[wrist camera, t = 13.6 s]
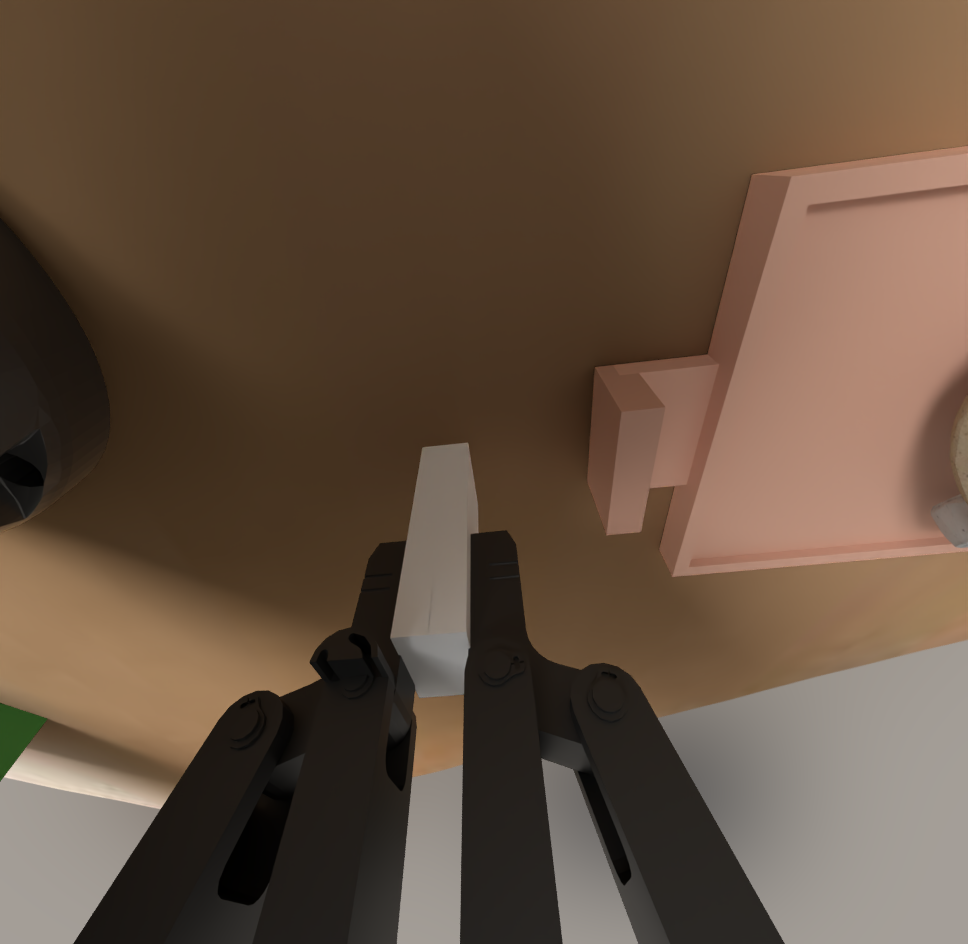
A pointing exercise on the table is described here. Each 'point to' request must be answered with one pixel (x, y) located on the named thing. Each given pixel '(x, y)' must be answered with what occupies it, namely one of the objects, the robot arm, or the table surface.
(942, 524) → the ceramic mug
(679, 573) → the tray
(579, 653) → the table surface
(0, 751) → the hardback book
